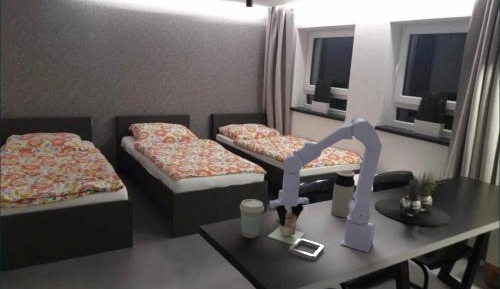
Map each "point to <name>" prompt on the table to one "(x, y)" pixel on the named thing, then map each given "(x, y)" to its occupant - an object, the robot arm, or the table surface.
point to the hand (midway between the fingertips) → (287, 224)
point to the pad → (287, 239)
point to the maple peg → (289, 224)
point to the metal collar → (304, 254)
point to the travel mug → (342, 192)
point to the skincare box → (285, 206)
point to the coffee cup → (251, 217)
